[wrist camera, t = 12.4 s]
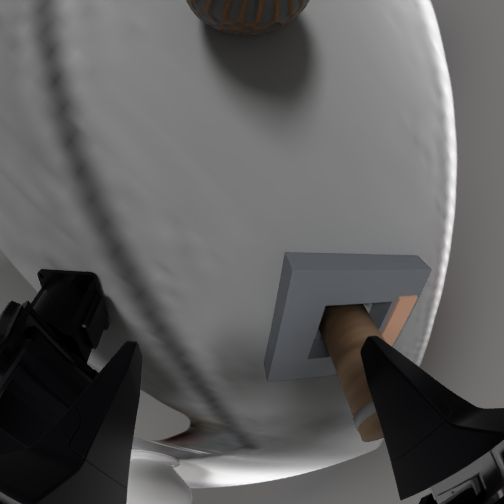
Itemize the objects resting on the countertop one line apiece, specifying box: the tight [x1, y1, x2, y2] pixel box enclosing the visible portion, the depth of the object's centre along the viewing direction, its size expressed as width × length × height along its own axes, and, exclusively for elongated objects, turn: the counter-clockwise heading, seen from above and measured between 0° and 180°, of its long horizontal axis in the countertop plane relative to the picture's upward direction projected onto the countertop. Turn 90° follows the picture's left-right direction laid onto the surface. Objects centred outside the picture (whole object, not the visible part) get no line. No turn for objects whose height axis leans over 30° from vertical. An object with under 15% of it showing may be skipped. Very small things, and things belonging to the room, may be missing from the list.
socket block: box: [264, 252, 432, 382], centre depth 25 cm, size 14×14×3 cm
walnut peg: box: [319, 304, 385, 442], centre depth 21 cm, size 5×5×13 cm
